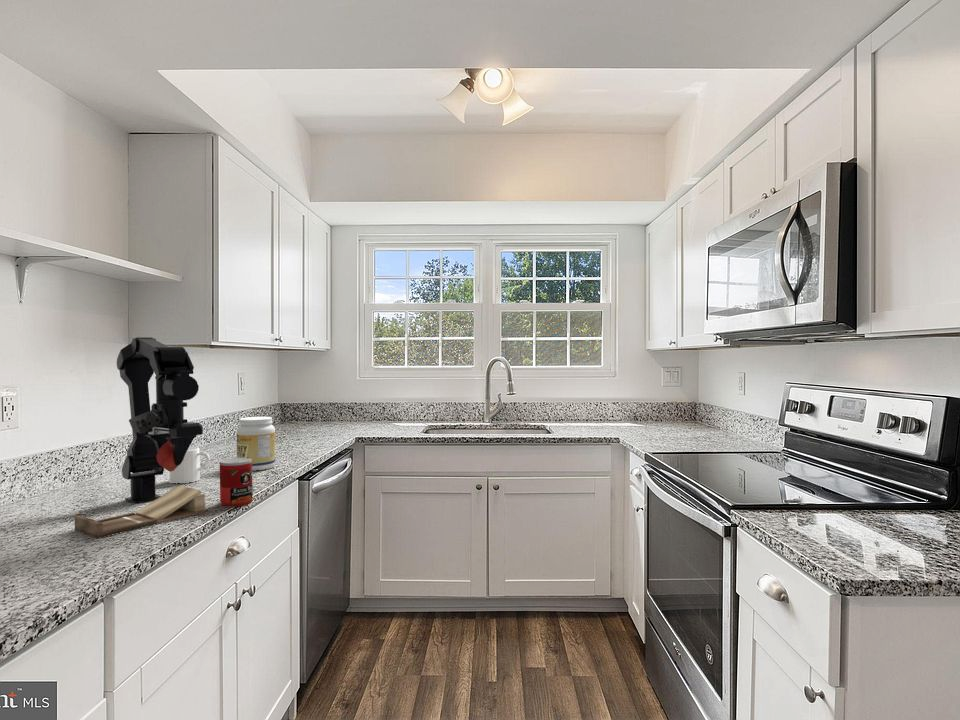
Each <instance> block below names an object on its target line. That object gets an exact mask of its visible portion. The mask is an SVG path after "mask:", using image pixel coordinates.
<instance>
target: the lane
mask: <svg viewBox="0 0 960 720" xmlns="http://www.w3.org/2000/svg"><path fill="white" fill-rule="evenodd" d="M204 513H205V512H204V510H200V511H196V512H194V511H190V510H187V509H183V508H178V509H177V510H175V511H174V512H172V513H171V514H169V515H168V516H166V517H165V518H164V519H162V520H157V519H152V518H148V517H145V516H142V515H138V514H136V512H131V513H126V514H125V513H124V514H121V515H116V516H112V517H105V518H102V519H98V520H95V519H92V518H89V517H86V516H83V515H75V516H74V531H76V530H77V531H76V532H79V531H80V532H79V533H81V532H83V533H82V534H84V533H85V535H87V534H88V535H87V536H89V535H90V537H92V536H93V537H92V538H95V537H96V538H95V539H97V538H98V539H100V538H99V537H102V538H105V537H104V536H106V537H109V536H108V535H110V536H113V535H112V534H114V535H117V534H116V533H118V534H121V533H120V532H122V533H125V532H124V531H126V532H130V531H129V530H131V531H134V529H135V530H138V529H143V528H146V526H147V527H151V526H155V525H159V524H163V523H167V522H172V521H175V519H176V520H179V518H180V519H183V517H184V518H188V517H190V516H191V515H192V516H195V515H196V516H197V515H200V514H204ZM187 516H188V517H187ZM171 520H172V521H171ZM162 522H163V523H162ZM158 523H159V524H158ZM154 524H155V525H154ZM142 527H143V528H142Z"/></svg>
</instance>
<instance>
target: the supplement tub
mask: <svg viewBox="0 0 960 720" xmlns="http://www.w3.org/2000/svg"><path fill="white" fill-rule="evenodd" d="M238 424H239V425H240V426H238V428H236V458H250V459H252V472H257V471H256V470H259V471H264V470H265V469H266V470H270V469H272V468H274V467H275V465H276V428H275V425H272V424H273V417H272V416H247V417H242V418H241V417H240V418H239V423H238Z"/></svg>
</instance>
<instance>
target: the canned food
mask: <svg viewBox="0 0 960 720" xmlns="http://www.w3.org/2000/svg"><path fill="white" fill-rule="evenodd" d="M253 488H254V487H253V471H252V459H250V458H237V457H231V458H226V459H222V460H220V461H219V495H220V496H219V497H220V498H219V501H220V505H221V506H223V507H226V506H227V507H229V508H230V507H231V508H235V507H243V506H245V505H249V504H251V503H252V502H253V498H254V495H253V493H254V491H253ZM227 507H226V508H227Z"/></svg>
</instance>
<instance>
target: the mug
mask: <svg viewBox="0 0 960 720" xmlns="http://www.w3.org/2000/svg"><path fill="white" fill-rule="evenodd" d="M200 456H202V457H203V456H204V458H205V462H204V463H203V465H202V466H201V463H200V462H201V457H200ZM210 461H211V458H210V455H209V453H207V452H205V451H201V450H200V447H198V446H189V448H188V450H187V452H186V454H185V456H184V459H183V461H182V463H181V464H180V465H179V466H178V467H177V468H176V469H175V470H174V471H171V472H169V483H170V484H172V483H176V484H175V485H178V484H177V483H187V484H190V483H189V482H193V483H196V482H195V481H197V482H199V481H200V480H201V472H200V471H203V470H204V469H207V467H209V464H210ZM198 480H199V481H198Z"/></svg>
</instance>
